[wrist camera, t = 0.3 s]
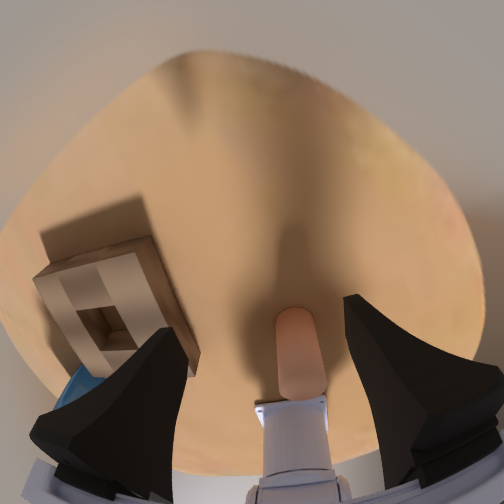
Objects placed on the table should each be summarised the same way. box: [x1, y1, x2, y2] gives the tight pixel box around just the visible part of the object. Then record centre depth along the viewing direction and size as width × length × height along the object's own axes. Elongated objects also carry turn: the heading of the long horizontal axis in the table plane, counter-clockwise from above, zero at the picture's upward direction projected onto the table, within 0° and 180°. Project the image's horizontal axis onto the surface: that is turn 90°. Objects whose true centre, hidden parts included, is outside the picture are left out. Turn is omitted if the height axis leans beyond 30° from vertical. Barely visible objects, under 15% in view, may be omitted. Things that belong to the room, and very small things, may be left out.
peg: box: [275, 307, 328, 401], centre depth 20 cm, size 3×3×7 cm
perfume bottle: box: [53, 364, 105, 410], centre depth 23 cm, size 6×6×12 cm
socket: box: [32, 235, 201, 378], centre depth 22 cm, size 12×12×3 cm
